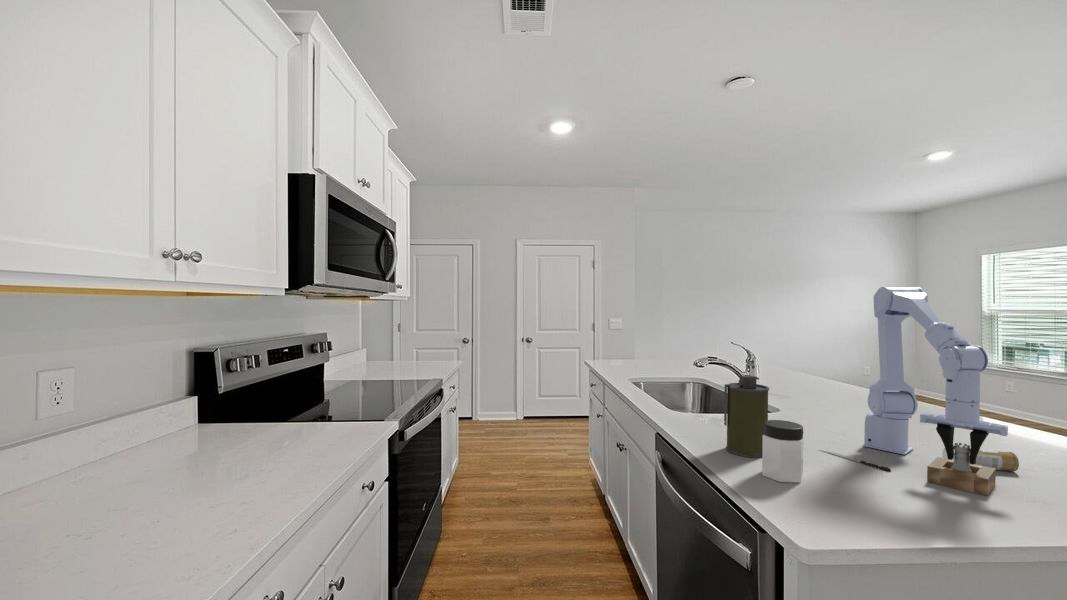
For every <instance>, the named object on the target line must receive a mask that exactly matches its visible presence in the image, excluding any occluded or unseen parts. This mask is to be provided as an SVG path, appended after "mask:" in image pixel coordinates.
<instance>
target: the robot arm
mask: <svg viewBox="0 0 1067 600" xmlns="http://www.w3.org/2000/svg"><path fill="white" fill-rule="evenodd" d="M928 297H929V296H928V294H927V293H926V292H925V290H924V289H923V288H922V287H920V286H914V287H913V286H912V287H911V286H910V287H908V286H906V287H903V286H901V287H898V286H897V287H892V286H891V287H887V286H880V287H879V288H878V289H877V291H876V292H875V293H874V295H873V314H874V317H875V318H877V333H878V334H877V335H878V336H877V337H878V356H879V359H878V360H879V375H880V376H879V379H878V380H877V381H876V382H874V383H873V384H871V385H870V386H869V393H868V396H867V407H868V409H869V410H870V412H868V413H866V415H865V418H864V444H863V447H865V448H866V447H867V448H870V449H875V450H880V451H885V452H890V453H895V454H898V455H904V456H905V455H906V456H907V454H909V453H910V452H911V451H913V450H914V447H913V446H909V419H912V416H914V415H915V414H916V412H917V410H918V406H919V405H918V400H917V397H916V395H915V388H914V387H913V386H912V385H910V384H909V383H908V382H906V381H905V376H904V357H903V354H904V353H903V336H902V335H903V333H902V323H903V322H904V320H906V319H908V318H910V317H912V319H914V320H915V321H916V322H917V323H918V324H919V325H920V326H921V327H922V328H923V329H925V332H924V337H925V339H926V340H927V341H928V343H930V345H931V347H933V349H934V350H935V351H936V352H937V353H938V354H939V356H938V361H939V365H940V366H941V369H942V376H943V378H944V379H945V401H944V402H945V403H944V404H945V405H944V406H945V409H944V414H934V413H927V412H921V413H920V414H919V422H920V423H922V424H931V425H933V424H934V425H936V428H935V430H936V432H937V434H938V436H939V437H940V439H941V441H942V443H943V446H944V448H945V449H946V452H947V457H948V459H949V460H952V459H953V458H954V449H953V446H954V438H955V428H957V429H962V430H967V431H969V430H970V432H969V438H970V441H969V442H970V449H971V452H970V464H975V463H976V458H977V454H978V452H979V450H981V447H982V446H983V444H984V442H985V440H986V439H987V437H988V435H990V434H994V435H999V436H1001V437H1007V436H1008V435H1009V426H1008V425H1005V424H1000V423H999V424H998V423H993V422H989V421H983V420H980V417H981V416H980V415H981V413H980V406H981V404H980V402H981V401H980V399H981V372H983V371H985V370H986V369H987V367H988V365H989V364H988V363H989V357H988V353H987V352H986V351H985V350H984V348H983V347H982V346H981V345H975V344H973V343H970V342H968V341H967V339H966V338H964V337H963V336H962V335H961V334H960V332H959V331H958V330H957V329H956V328H955V326H954V325H953V324H952V323H949V322H942V321H941V319H940V318H939V317H938V315H937V314H936V313H935V311H934V310H933V309H932V307H931V306H930V305H929V303H928V301H929V300H928V299H929V298H928Z"/></svg>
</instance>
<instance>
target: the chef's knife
mask: <svg viewBox="0 0 1067 600" xmlns="http://www.w3.org/2000/svg"><path fill="white" fill-rule="evenodd" d="M818 451H819V452H822V453H825V454H829V455H832V456H836V457H839V458H842V459H844V460H845V459H846V460H848V461H850V462H851V461H852V462H854V461H855V463H858V464H861V463H862V464H861V465H866V466H868V465H869V466H868V467H871V466H872V467H871V468H874V467H876V468H875V469H878V468H879V469H878V470H881V469H882V471H884V470H885V472H888V471H889V472H888V473H891V471H892V469H891V468H890V467H888V466H884V465H883V466H881V465H877V464H875V463H872V462H868V461H866V460H863V459H860V458H856V457H852V456H850V455H845V454H842V453H837V452H833V451H828V450H821V449H818Z"/></svg>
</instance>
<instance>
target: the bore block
mask: <svg viewBox="0 0 1067 600" xmlns="http://www.w3.org/2000/svg"><path fill="white" fill-rule="evenodd" d="M953 464H954V460H949V459H946V458H943V457H940V456H936V458H935V459H934V460H932V461H931V462H930V463H929V464H928V465H927V468H926V470H927V471H926V473H927V476H926V482H927V481H928V483H931V482H932V483H931V484H936V485H941V486H945V487H948V488H953V489H956V490H960V491H965V492H969V493H974V494H978V495H982V496H987V497H989V495H990V494H991V492H992V490H993V488H994V487H995V486H996V476H997V475H996V472H997V470H996V468H991V467H986V466H981V465H976V464H970V463H969V464H970V469H971V470H972V473H970V472H965V471H960V470H956V469H951V468H952V466H953Z"/></svg>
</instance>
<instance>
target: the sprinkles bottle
mask: <svg viewBox="0 0 1067 600" xmlns="http://www.w3.org/2000/svg"><path fill="white" fill-rule="evenodd" d="M954 453H955V450H954ZM941 454H942V458H946V459H948V457H947V452H946V449H945V447H944V448H943V449H942V453H941ZM969 456H970V453H969ZM952 460H955V455H954V458H953V459H952ZM969 463H970V458H969ZM975 464H976V465H981V466H986V467H991V468H996V471H997V470H998V471H1010V472H1016V471H1018V469H1019V467H1020V461H1019V458H1018V456H1017V454H1016V453H1014V452H1012V451H1000V450H999V451H996V450H990V449H989V450H987V449H979V452H978V454H977V458H976V463H975Z"/></svg>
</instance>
